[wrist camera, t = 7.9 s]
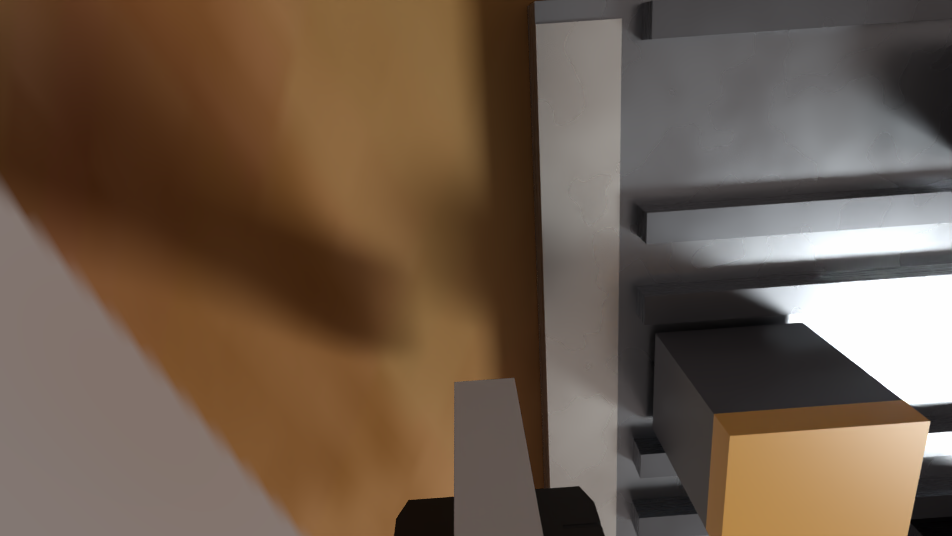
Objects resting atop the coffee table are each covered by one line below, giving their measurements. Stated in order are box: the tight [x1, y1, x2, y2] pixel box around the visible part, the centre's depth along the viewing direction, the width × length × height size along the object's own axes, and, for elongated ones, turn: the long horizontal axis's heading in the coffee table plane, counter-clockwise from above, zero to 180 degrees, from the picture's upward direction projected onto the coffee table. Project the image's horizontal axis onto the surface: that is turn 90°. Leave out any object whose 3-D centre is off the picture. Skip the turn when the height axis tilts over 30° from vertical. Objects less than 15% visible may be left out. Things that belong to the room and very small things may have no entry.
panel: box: [527, 0, 952, 536], centre depth 16 cm, size 20×18×6 cm
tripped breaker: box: [652, 322, 931, 536], centre depth 15 cm, size 3×4×5 cm
